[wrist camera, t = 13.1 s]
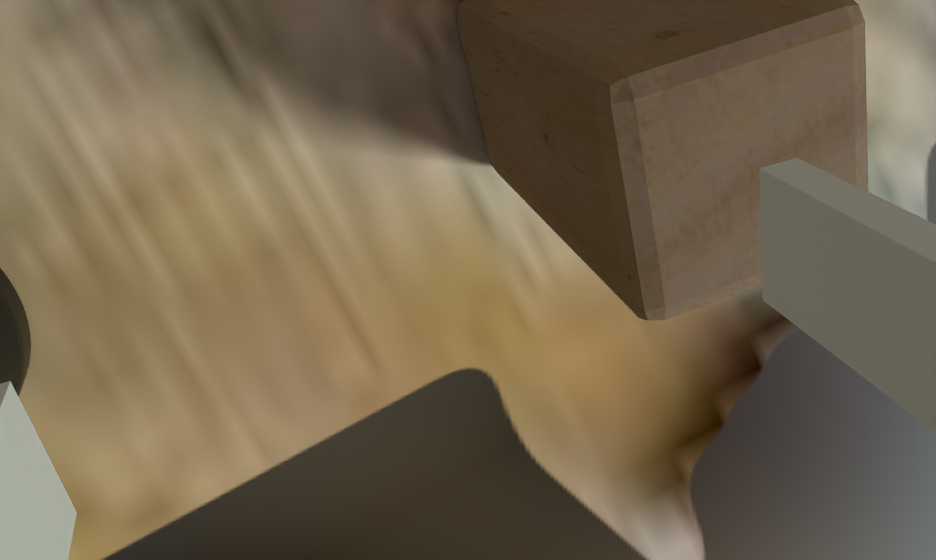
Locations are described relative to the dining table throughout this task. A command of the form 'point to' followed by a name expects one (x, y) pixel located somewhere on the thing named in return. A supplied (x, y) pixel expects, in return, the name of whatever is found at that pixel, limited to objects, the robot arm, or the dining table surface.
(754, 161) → the wooden block
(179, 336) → the dining table surface
